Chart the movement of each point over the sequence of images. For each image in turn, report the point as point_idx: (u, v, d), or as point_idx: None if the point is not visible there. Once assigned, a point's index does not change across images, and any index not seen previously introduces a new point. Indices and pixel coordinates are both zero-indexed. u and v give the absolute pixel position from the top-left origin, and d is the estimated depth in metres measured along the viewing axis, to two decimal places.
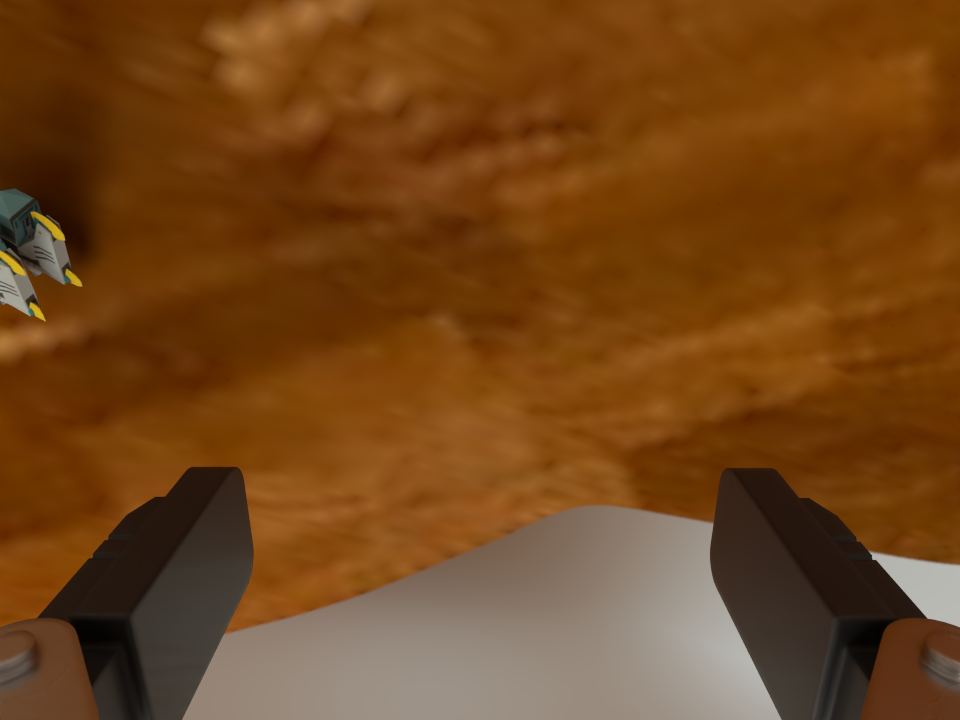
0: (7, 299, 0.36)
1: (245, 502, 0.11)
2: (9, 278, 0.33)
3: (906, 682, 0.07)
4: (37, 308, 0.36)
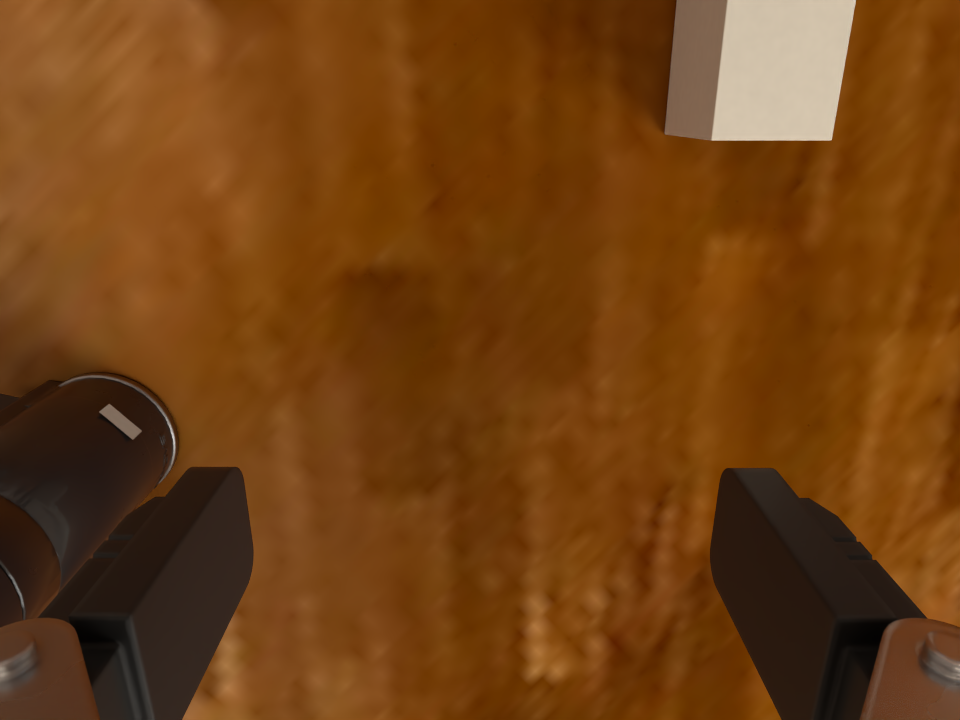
0: None
1: (245, 502, 0.11)
2: None
3: (906, 682, 0.07)
4: None
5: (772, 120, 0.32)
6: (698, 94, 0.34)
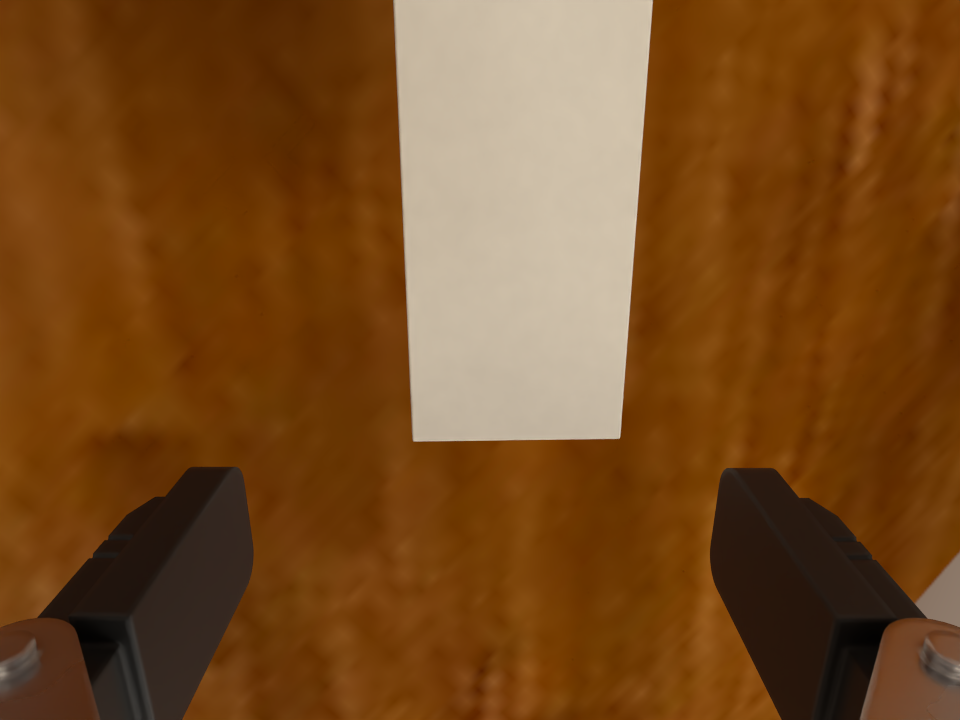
0: None
1: (245, 502, 0.11)
2: None
3: (906, 682, 0.07)
4: None
5: (513, 410, 0.18)
6: None
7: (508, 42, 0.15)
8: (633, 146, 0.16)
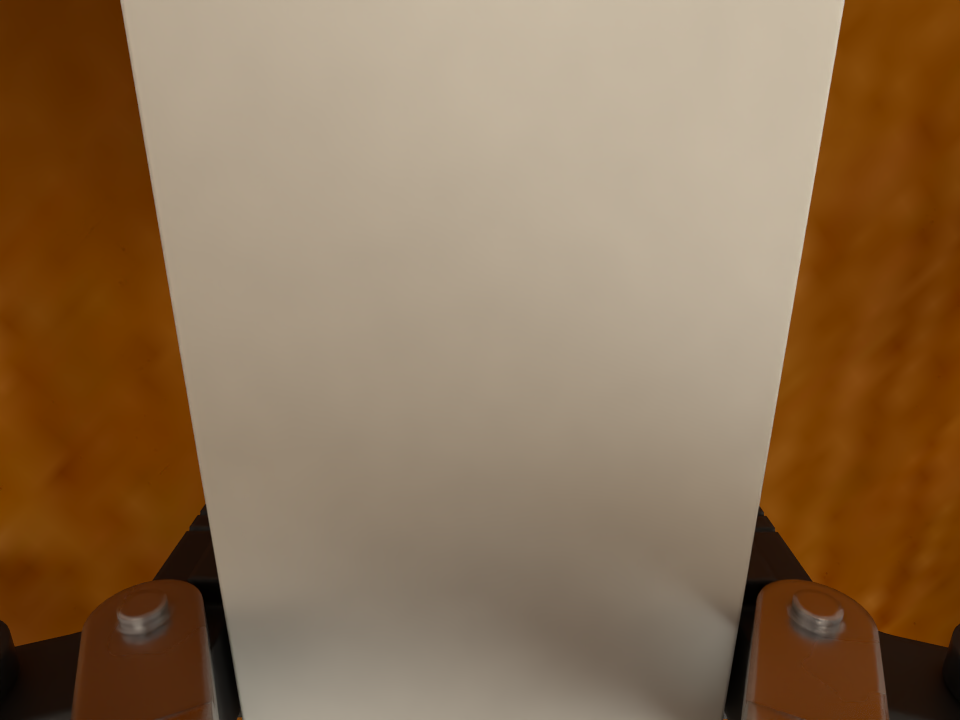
0: None
1: None
2: None
3: (781, 642, 0.07)
4: None
5: None
6: None
7: (440, 41, 0.05)
8: (771, 309, 0.06)
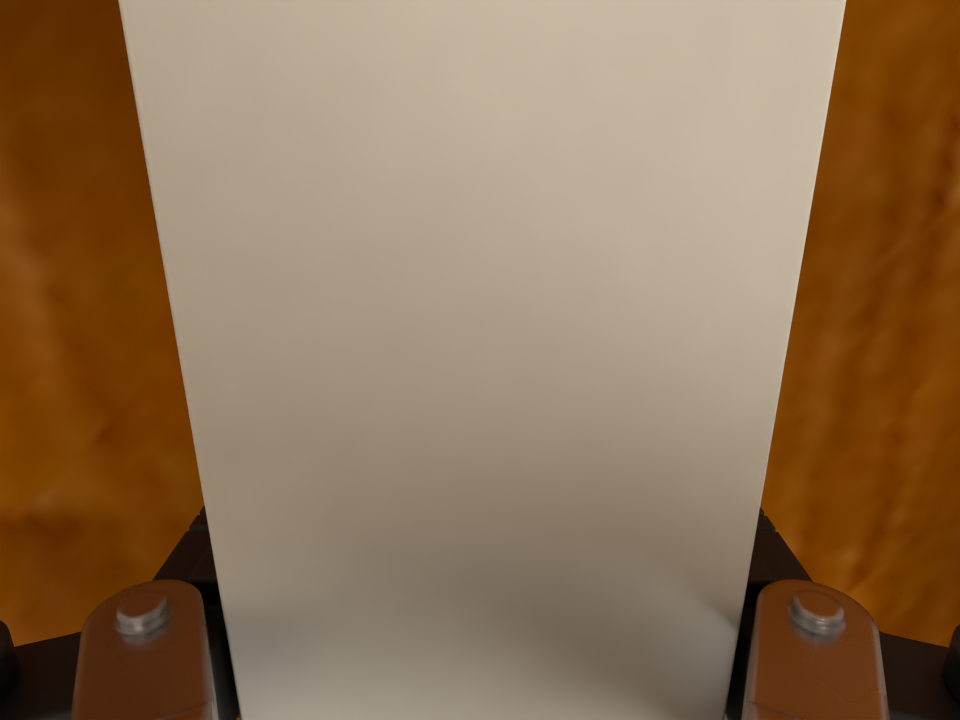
0: None
1: None
2: None
3: (782, 643, 0.07)
4: None
5: None
6: None
7: (439, 39, 0.05)
8: (772, 309, 0.06)
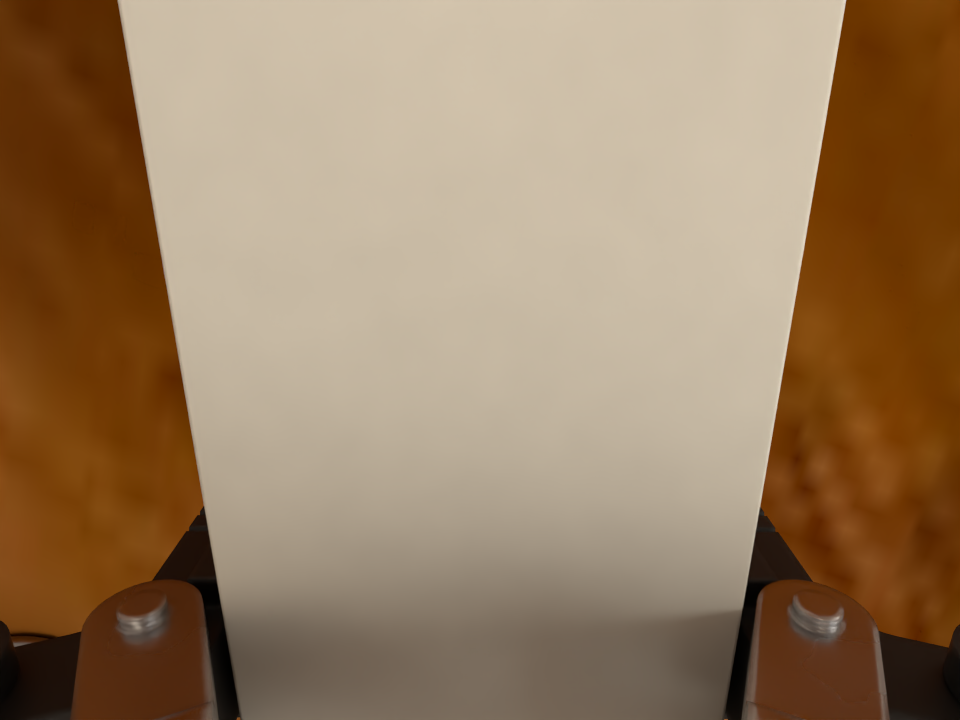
0: None
1: None
2: None
3: (782, 643, 0.07)
4: None
5: None
6: None
7: (439, 39, 0.05)
8: (772, 310, 0.06)
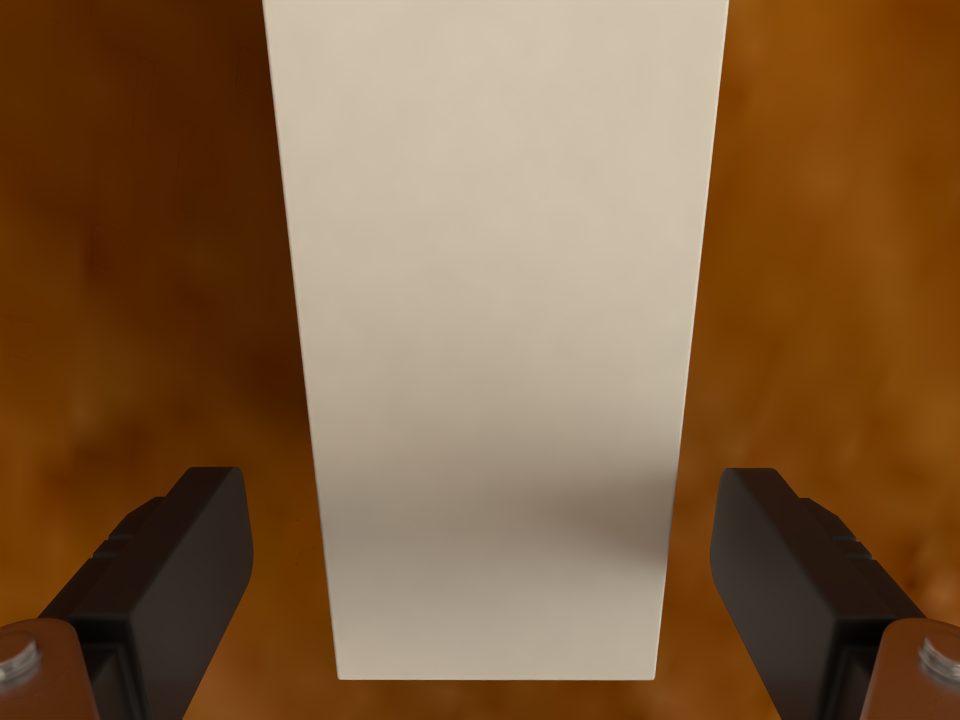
0: None
1: (245, 502, 0.11)
2: None
3: (906, 682, 0.07)
4: None
5: (489, 642, 0.12)
6: None
7: (468, 84, 0.09)
8: (686, 257, 0.09)
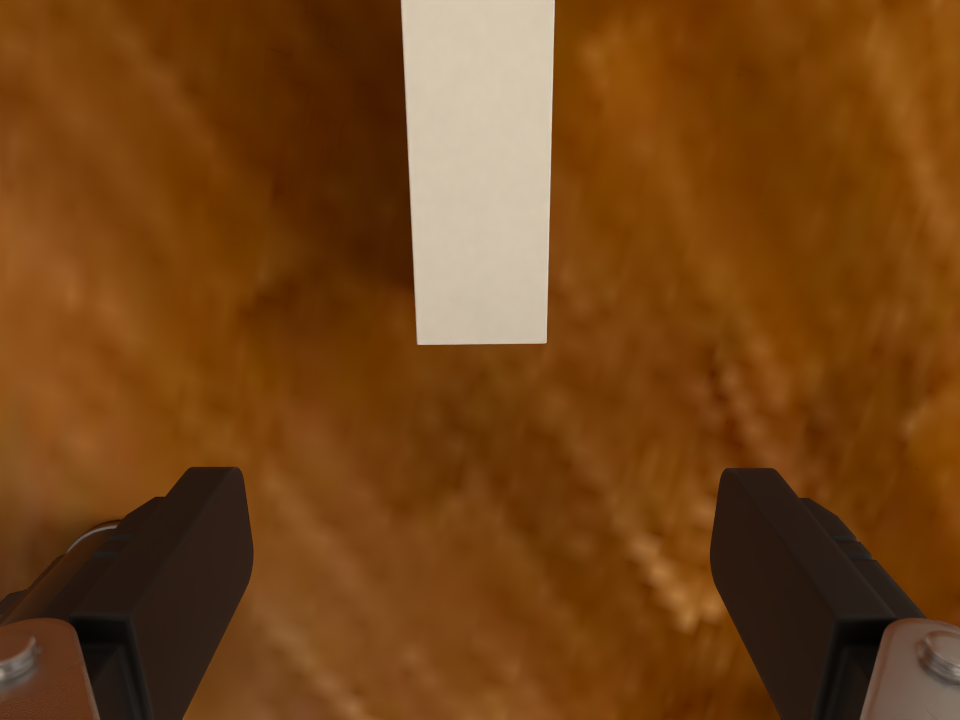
0: None
1: (245, 502, 0.11)
2: None
3: (906, 682, 0.07)
4: None
5: (478, 325, 0.30)
6: None
7: (470, 103, 0.27)
8: (545, 162, 0.27)
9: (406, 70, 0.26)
